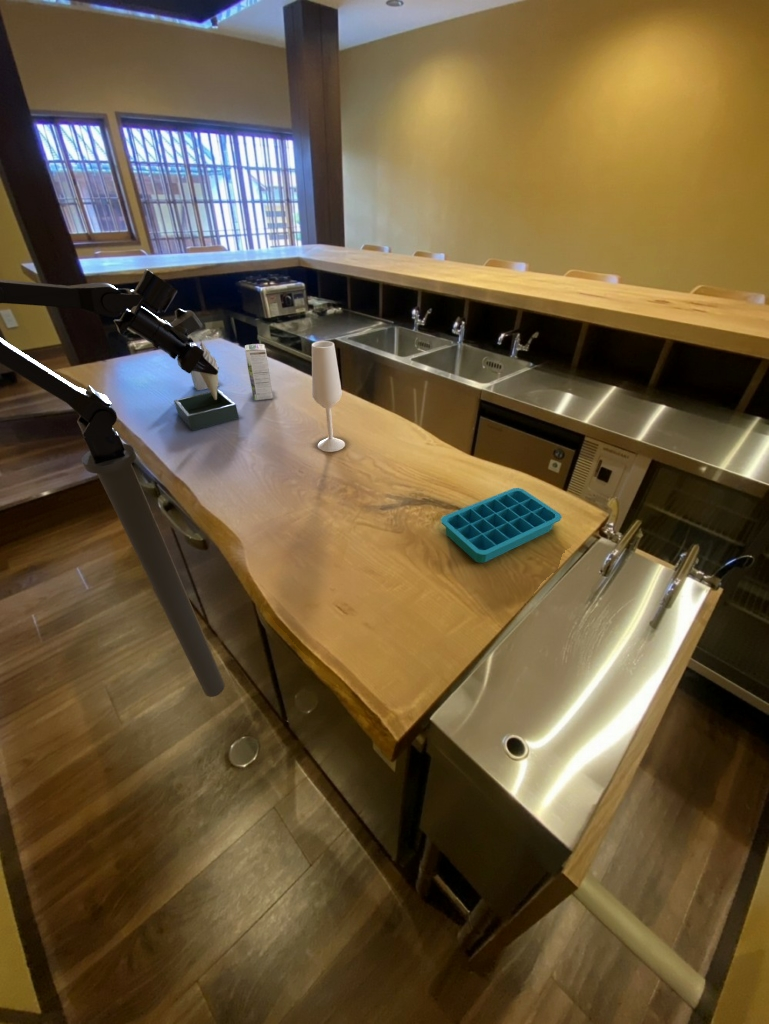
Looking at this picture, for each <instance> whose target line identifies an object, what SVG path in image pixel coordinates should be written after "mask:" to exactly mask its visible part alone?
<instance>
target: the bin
mask: <svg viewBox="0 0 769 1024" xmlns="http://www.w3.org/2000/svg"><path fill="white" fill-rule="evenodd" d="M173 402H174V405H175V409H176V412H177V415H178V416H179V417H180V418H181V419H182V421H183V422H184V423H185V424H186V426H187V427H188V428H189V429H190V430H191V431H192V432H193V431H194V432H195V431H197V430H201V429H205V428H208V427H213V426H216V425H219V424H223V423H226V422H231V421H235V420H238V419H240V418H239V412H238V408H237V404H236V403H235V402H234V401H233V400H232V399H230V397H228V395H226V394H225V393H224V392H222V391H221V389H217V400H215V399H214V398H213V396H212V394H211V392H210V391H208V392H204V393H203V392H202V393H200V394H195V395H191V396H186V397H182V398H178V399H174V400H173Z"/></svg>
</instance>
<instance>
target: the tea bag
mask: <svg viewBox="0 0 769 1024" xmlns="http://www.w3.org/2000/svg"><path fill="white" fill-rule="evenodd" d="M210 355H211V356H212V354H211V353H210ZM190 376H191V380H192V383H193V387H194V388H195V389H196V390H197V391H202V390H206V389H208V387H207V385H206V383H205V381H204V380H203V378H202V376H201V374H200V372H196V371H192V372H191V373H190ZM219 386H221V384H220V381H219V379H218V385H217V387H219Z"/></svg>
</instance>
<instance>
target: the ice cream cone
mask: <svg viewBox="0 0 769 1024" xmlns="http://www.w3.org/2000/svg"><path fill="white" fill-rule="evenodd" d="M199 347H200V348H201V349H202V350H203V351H204V354H203V357H204V358H205V359H206V360H207V361H208V362H209V363H210V364H211V365H212V366H213V367H214V368H215V369H216V370H217V371H218V373H217V375H213V374H208V373H202V372H200V374H201V376H202V378H203V380H204V381H205V383H206V385H207V387H208V388H207V389H208V390H209V392H211V394H212V396H213V398H214V399H215V400H217V390H218V386H217V385H218V380H219V368H220V367H219V366H218V362H217V359H216V358H215V357H214V356H212V354H211V351H210V350H209V349H208V348H207V347H206V346H205V344H204V343H203V340H200V344H199ZM210 354H211V355H210Z"/></svg>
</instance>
